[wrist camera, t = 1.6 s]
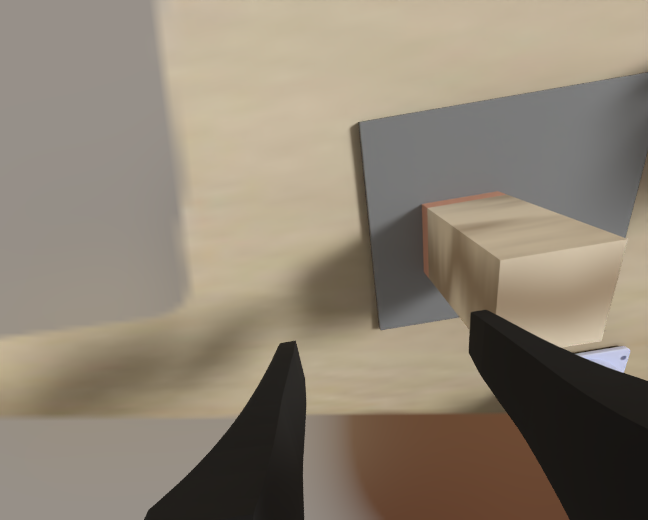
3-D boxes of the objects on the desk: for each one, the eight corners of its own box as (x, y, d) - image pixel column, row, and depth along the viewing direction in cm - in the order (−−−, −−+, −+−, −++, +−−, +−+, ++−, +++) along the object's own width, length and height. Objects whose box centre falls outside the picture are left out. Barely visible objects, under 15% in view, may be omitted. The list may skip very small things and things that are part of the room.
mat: (605, 289, 25) (611, 292, 24) (379, 326, 25) (380, 330, 24) (660, 70, 18) (668, 68, 18) (358, 122, 19) (359, 122, 18)
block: (492, 260, 22) (601, 340, 14) (423, 271, 23) (492, 358, 14) (498, 191, 20) (628, 238, 12) (421, 204, 20) (500, 260, 12)
